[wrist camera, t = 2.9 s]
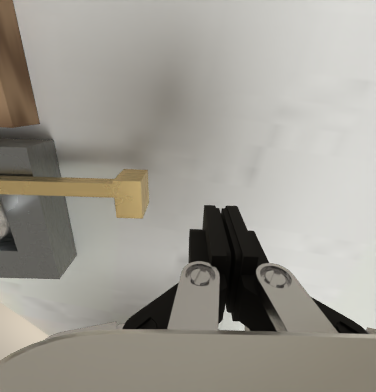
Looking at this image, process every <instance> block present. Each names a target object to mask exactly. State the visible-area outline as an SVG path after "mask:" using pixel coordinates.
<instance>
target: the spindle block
mask: <svg viewBox="0 0 376 392" xmlns="http://www.w3.org/2000/svg"><path fill="white" fill-rule="evenodd" d="M0 176H29V177H61V175H60V170H59V165H58V160H57V155H56V151H55V146H54V141H53V140H40V139H7V138H0ZM0 199H1V202H2V205H3V208H4V211H5V214H6V217H7V220H8V223H9V226H10V229H11V232H10V233H9V234H7V235H6V236H4V237H3V238H2V239H0V278H38V279H60V278H61V276H62V275H63V274H64V272H65V271H66V269H67V268H68V267H69V265H70V264H71V263H72V261H73V260H74V258H75V257H76V256H77V254H76V249H75V244H74V239H73V234H72V229H71V224H70V219H69V215H68V210H67V205H66V200H65V196H45V195H10V194H0Z"/></svg>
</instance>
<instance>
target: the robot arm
mask: <svg viewBox="0 0 376 392" xmlns="http://www.w3.org/2000/svg"><path fill="white" fill-rule="evenodd" d="M225 303H226V309H227V312H228V313H231V314H232V319H233V321H240V322H241V323H242V324H244V325H245V331H229V330H218V324H219V323H220V322H221V321H222V319H223V312H224V309H225ZM0 392H376V329H372V328H368V327H367V329H366V331H365V330H364V329H363V328H362V327H361V326H360V325H358V324H357V323H355V322H354V321H352V320H350V319H349V318H347V317H345V316H343V315H342V314H340V313H338V312H336V311H335V310H333V309H331V308H329V307H328V306H326V305H324V304H322V303H321V302H319V301H317V300H315V299H314V298H312V297H310V296H309V294H308V293H307V292H306V290H305V289H304V288H303V287H302V285H301V284H300V283H299V281H298V280H297V279H296V278H295V276H294V275H293V274H292V273H291V272H290V271H289V270H288V269H286V268H285V267H283V266H280V265H278V264H273V263H269V262H268V260H267V257H266V255H265V253H264V251H263V249H262V247H261V245H260V243H259V241H258V238H257V236H256V234H255V232H254V231H248V230H247V228H246V226H245V223H244V221H243V219H242V216H241V214H240V212H239V209H238V207H237V206H226V208H225V209H223V208H222V211H221V213H220V210H219V208H216V207H215V206H213V205H204V216H203V230H199V229H190V234H189V264H187V265H186V266H185V267H184V268H183V270H182V272H181V276H180V280H179V283H178V284H176V285H175V286H173V287H172V288H171V289H169V290H168V291H166V292H165V293H164V294H162V295H161V296H159V297H158V298H157V299H155V300H154V301H152V302H151V303H150V304H148V305H147V306H145V307H144V308H143V309H141V310H140V311H138V312H137V313H136V314H134V315H133V316H132V317H131V318H129V319H128V320H127V321H126V323H124V324H118V325H117V321H116V322H111V323H106V324H101V325H95V326H90V327H85V328H80V329H75V330H69V331H64V332H59V333H56V334H54V335H51V336H49V337H48V338H46V339H45V340H43V341H40V342H37V343H34V344H31V345H29V346H27V347H24V348H22V349H20V350H18V351H16V352H14V353H12V354H10V355H8V356H7V357H5V358H4V359H2V360H0Z"/></svg>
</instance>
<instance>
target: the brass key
mask: <svg viewBox="0 0 376 392" xmlns="http://www.w3.org/2000/svg"><path fill="white" fill-rule="evenodd" d="M0 194H10V195H45V196H80V197H114V198H115V207H116V216H117V218H143V216H144V214H145V211H146V209H147V206H148V204H149V189H148V170H136V169H124V170H123V171H122V172H121V173H120V174H119V175H118V176H117V177H116V178H115V179H98V178H63V177H29V176H0Z"/></svg>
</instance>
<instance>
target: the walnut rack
mask: <svg viewBox="0 0 376 392" xmlns="http://www.w3.org/2000/svg"><path fill="white" fill-rule="evenodd" d="M35 124H40V123H39V118H38V114H37V109H36V105H35V100H34V96H33V91H32V87H31V82H30V78H29V73H28V69H27V64H26V59H25V55H24V50H23V46H22V41H21V37H20V32H19V28H18V23H17V19H16V14H15V10H14V5H13V1H12V0H0V127H8V128H14V127H21V126H28V125H35Z"/></svg>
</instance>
